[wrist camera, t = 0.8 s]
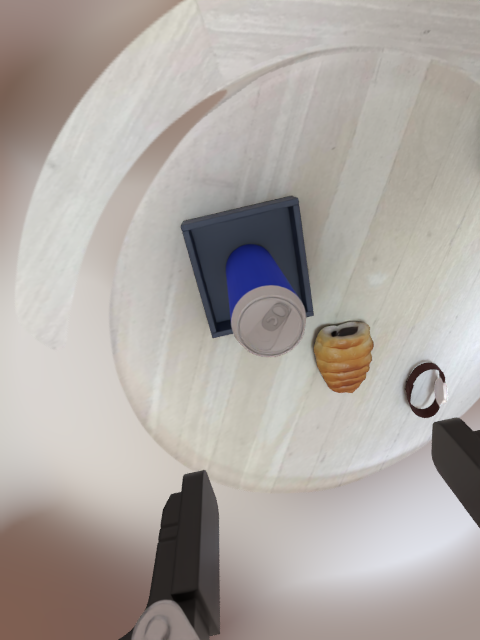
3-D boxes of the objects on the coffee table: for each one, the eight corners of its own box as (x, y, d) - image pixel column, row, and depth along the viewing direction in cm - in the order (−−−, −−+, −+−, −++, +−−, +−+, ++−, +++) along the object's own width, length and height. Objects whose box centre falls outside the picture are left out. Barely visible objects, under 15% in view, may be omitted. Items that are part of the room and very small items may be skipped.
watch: (432, 405, 46) (449, 423, 42) (399, 409, 46) (413, 427, 42) (442, 357, 42) (461, 373, 39) (406, 361, 42) (422, 377, 39)
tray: (183, 221, 33) (180, 225, 31) (291, 195, 33) (298, 197, 30) (212, 326, 39) (212, 338, 36) (307, 305, 38) (314, 315, 36)
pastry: (367, 380, 43) (380, 398, 40) (316, 389, 43) (324, 409, 40) (365, 316, 39) (379, 330, 36) (309, 326, 39) (318, 341, 36)
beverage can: (257, 298, 37) (281, 372, 23) (216, 276, 36) (217, 341, 22) (282, 258, 35) (325, 313, 22) (241, 233, 34) (258, 275, 20)
